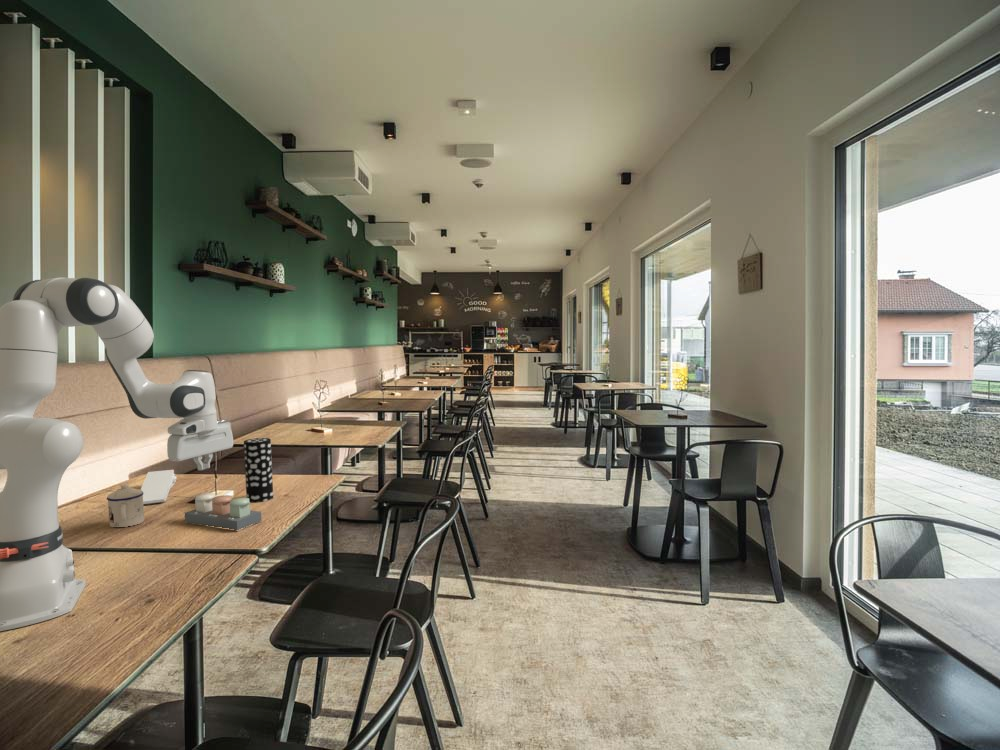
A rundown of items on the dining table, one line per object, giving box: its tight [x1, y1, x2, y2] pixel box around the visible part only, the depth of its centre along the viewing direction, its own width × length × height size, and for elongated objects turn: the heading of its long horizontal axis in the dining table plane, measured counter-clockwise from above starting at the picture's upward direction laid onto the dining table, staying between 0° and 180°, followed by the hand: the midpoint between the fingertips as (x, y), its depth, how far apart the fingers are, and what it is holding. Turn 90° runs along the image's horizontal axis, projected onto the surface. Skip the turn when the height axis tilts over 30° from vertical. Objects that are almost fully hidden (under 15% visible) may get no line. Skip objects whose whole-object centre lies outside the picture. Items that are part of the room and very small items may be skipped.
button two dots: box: [230, 497, 251, 518], centre depth 166 cm, size 5×5×5 cm
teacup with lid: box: [106, 483, 145, 528], centre depth 167 cm, size 12×9×12 cm
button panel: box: [184, 508, 262, 530], centre depth 169 cm, size 21×9×3 cm, turn 67°
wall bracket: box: [140, 469, 177, 505], centre depth 199 cm, size 10×7×28 cm
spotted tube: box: [243, 437, 274, 503], centre depth 191 cm, size 8×8×20 cm
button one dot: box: [194, 492, 216, 513], centre depth 171 cm, size 5×5×5 cm
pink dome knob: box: [212, 494, 233, 515], centre depth 168 cm, size 5×5×5 cm
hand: (203, 469), depth 170 cm, fingers closed
